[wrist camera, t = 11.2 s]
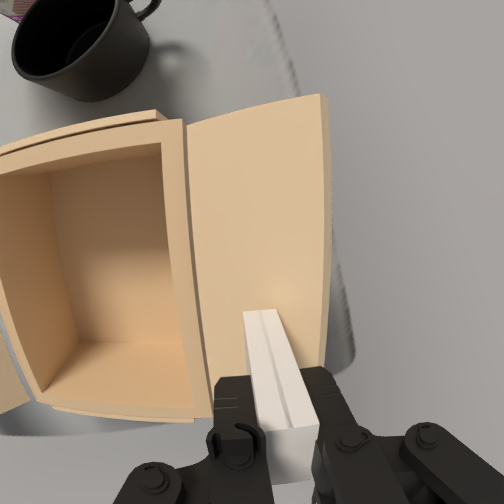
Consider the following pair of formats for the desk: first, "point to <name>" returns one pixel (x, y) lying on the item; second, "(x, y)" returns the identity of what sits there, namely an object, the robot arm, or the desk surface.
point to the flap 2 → (262, 226)
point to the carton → (104, 269)
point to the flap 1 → (9, 382)
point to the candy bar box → (15, 8)
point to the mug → (82, 46)
